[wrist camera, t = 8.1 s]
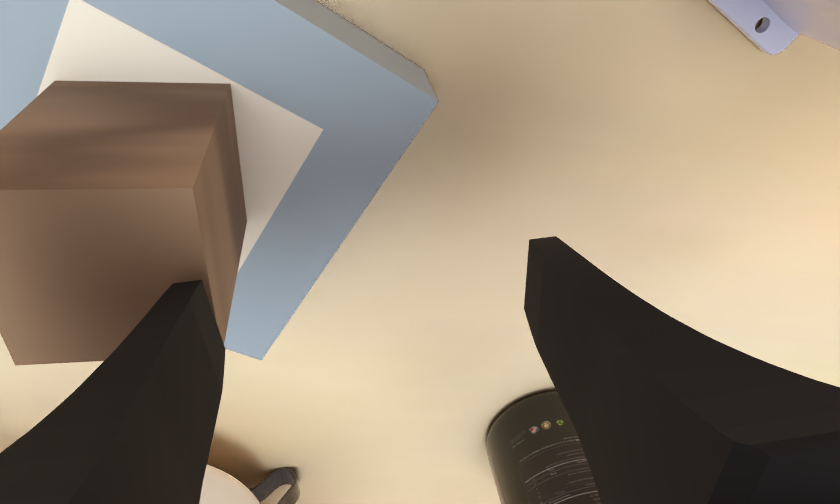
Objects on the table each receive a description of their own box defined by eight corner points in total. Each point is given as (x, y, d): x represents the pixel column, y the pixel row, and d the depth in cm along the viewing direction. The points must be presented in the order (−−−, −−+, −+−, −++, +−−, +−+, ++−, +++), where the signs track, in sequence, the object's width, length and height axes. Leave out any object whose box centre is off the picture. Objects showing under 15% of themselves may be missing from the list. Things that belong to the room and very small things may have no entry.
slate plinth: (423, 69, 20) (438, 101, 17) (266, 309, 25) (261, 361, 22) (36, -178, 15) (-21, -182, 12) (-63, 186, 20) (-117, 235, 17)
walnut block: (230, 83, 16) (192, 188, 11) (247, 221, 19) (222, 354, 14) (54, 80, 15) (-66, 190, 11) (97, 223, 18) (15, 365, 13)
